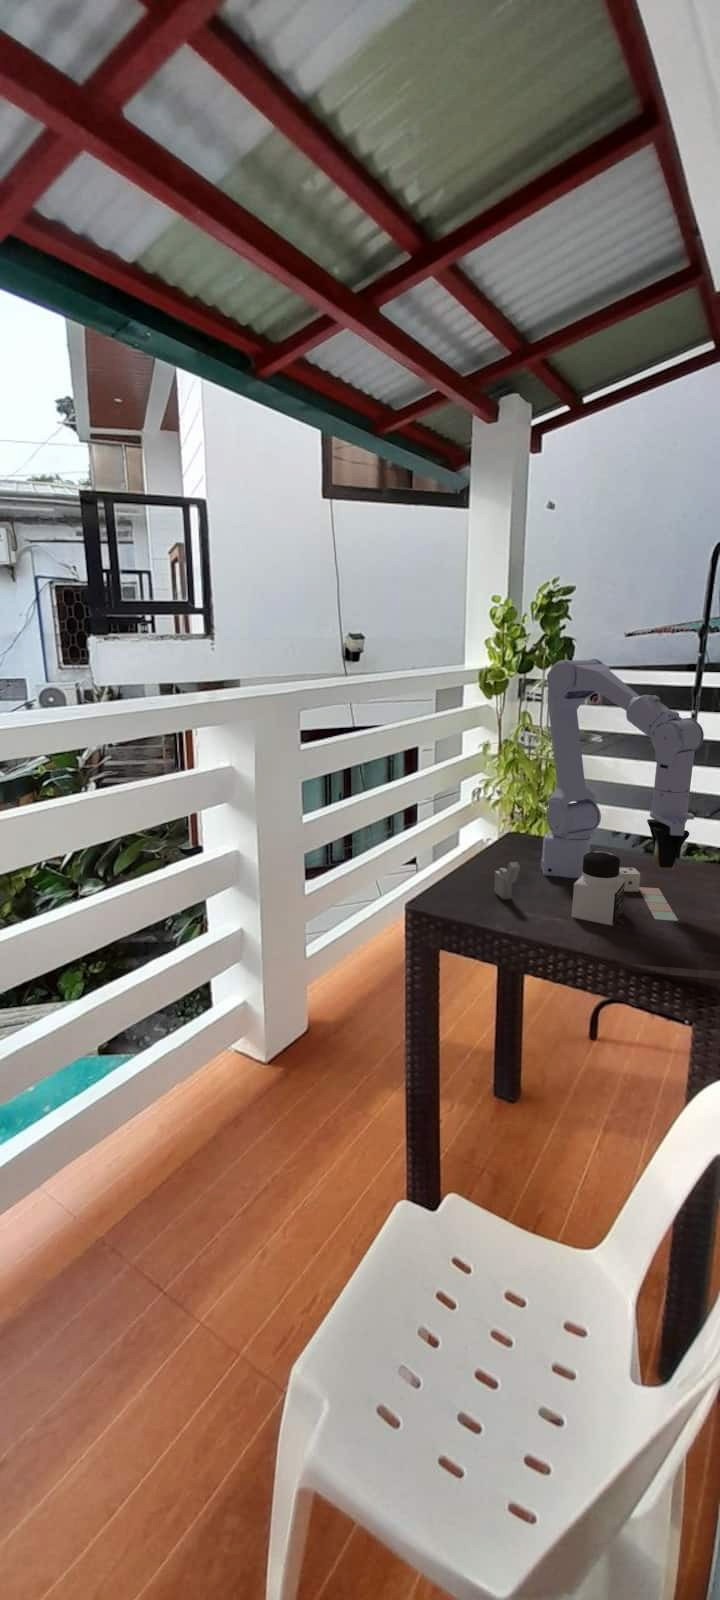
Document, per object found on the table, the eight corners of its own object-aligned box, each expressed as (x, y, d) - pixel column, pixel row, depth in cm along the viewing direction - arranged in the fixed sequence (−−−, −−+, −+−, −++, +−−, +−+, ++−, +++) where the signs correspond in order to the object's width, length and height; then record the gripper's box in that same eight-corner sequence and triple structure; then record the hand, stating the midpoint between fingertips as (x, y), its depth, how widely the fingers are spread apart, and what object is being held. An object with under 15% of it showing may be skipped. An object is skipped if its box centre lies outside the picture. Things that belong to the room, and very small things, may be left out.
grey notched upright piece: (493, 891, 137) (495, 852, 135) (501, 891, 137) (503, 852, 135) (510, 905, 130) (512, 864, 128) (518, 904, 130) (520, 863, 129)
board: (629, 924, 121) (630, 920, 121) (613, 887, 139) (613, 882, 139) (681, 928, 120) (682, 923, 119) (658, 890, 137) (658, 885, 137)
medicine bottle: (612, 930, 119) (618, 863, 116) (570, 921, 123) (575, 856, 120) (622, 916, 125) (627, 852, 122) (581, 908, 129) (586, 845, 126)
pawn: (654, 869, 123) (658, 831, 122) (651, 863, 127) (655, 826, 125) (675, 871, 123) (679, 832, 121) (671, 864, 126) (675, 827, 124)
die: (620, 891, 134) (621, 873, 133) (613, 884, 138) (615, 867, 137) (639, 891, 134) (640, 873, 133) (632, 885, 138) (634, 867, 137)
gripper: (707, 799, 114) (698, 878, 117) (686, 781, 127) (678, 852, 131) (661, 797, 115) (653, 875, 118) (645, 779, 129) (638, 849, 132)
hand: (663, 863), depth 125 cm, fingers closed on pawn, 3 cm apart
